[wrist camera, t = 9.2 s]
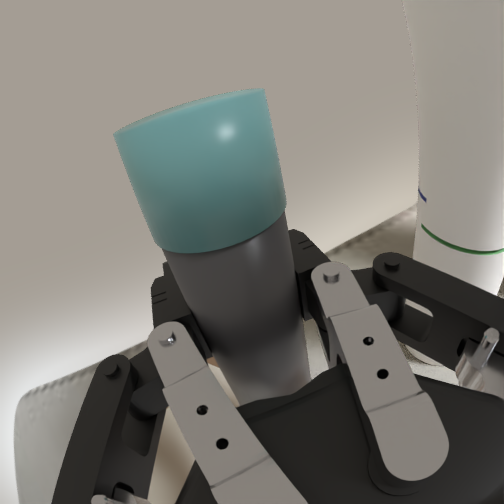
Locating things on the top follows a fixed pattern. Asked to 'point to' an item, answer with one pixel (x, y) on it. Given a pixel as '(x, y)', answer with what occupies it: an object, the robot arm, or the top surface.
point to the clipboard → (177, 452)
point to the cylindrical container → (459, 139)
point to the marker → (225, 233)
